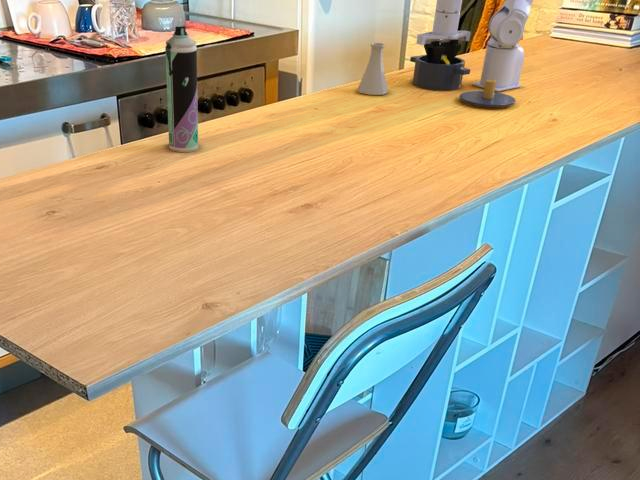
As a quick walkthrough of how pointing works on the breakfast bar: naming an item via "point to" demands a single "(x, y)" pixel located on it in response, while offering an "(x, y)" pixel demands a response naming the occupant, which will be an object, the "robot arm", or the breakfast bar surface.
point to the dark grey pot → (438, 74)
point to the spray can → (182, 91)
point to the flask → (374, 73)
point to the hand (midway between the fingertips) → (437, 76)
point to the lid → (487, 97)
